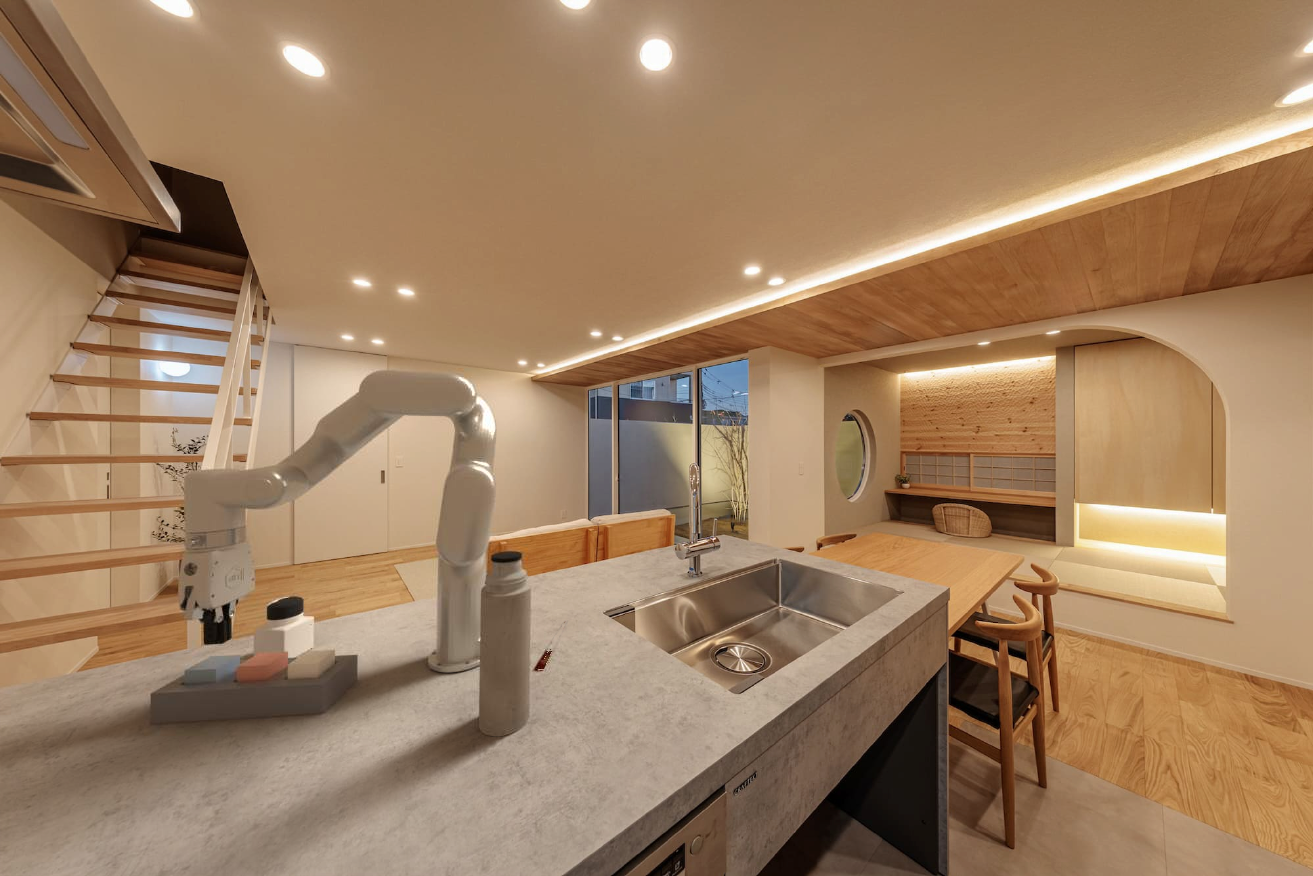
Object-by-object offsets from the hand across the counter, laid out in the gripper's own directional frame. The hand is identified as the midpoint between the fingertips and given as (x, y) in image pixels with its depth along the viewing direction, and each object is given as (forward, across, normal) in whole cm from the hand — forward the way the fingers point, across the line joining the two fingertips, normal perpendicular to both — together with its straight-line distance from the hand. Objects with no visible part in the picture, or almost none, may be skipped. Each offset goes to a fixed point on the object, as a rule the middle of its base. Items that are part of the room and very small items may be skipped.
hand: (217, 642), depth 75 cm
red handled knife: (+13, +17, -56) cm, 60 cm away
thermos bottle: (+12, -10, -51) cm, 54 cm away
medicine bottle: (+11, +17, +1) cm, 20 cm away
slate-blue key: (+7, 0, +1) cm, 7 cm away
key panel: (+11, 0, -7) cm, 13 cm away
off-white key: (+7, 0, -15) cm, 17 cm away
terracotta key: (+7, 0, -7) cm, 10 cm away
